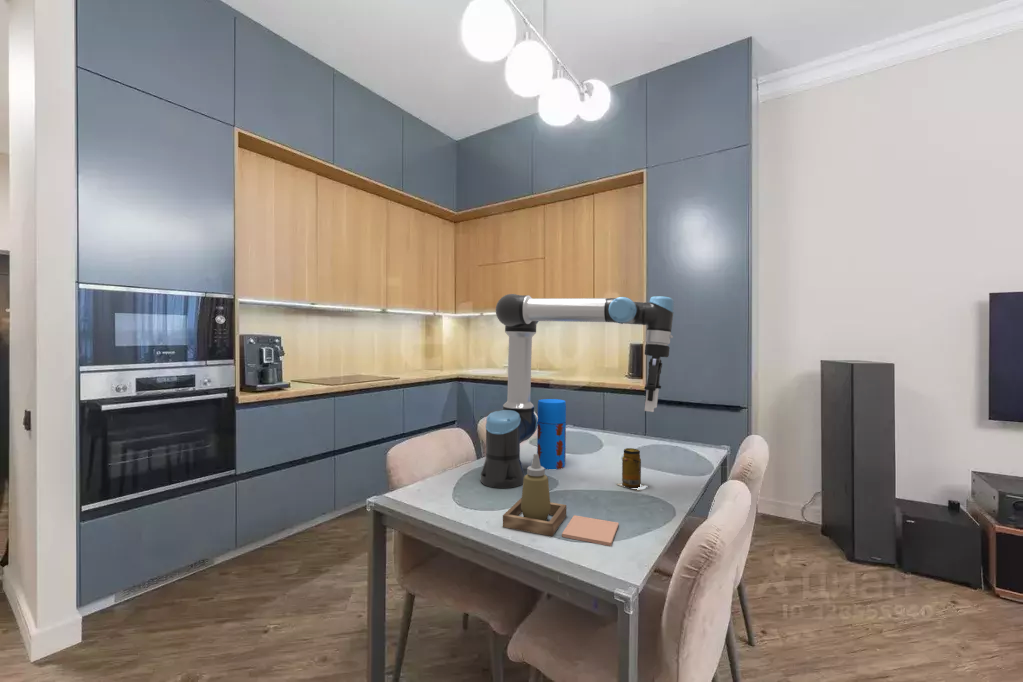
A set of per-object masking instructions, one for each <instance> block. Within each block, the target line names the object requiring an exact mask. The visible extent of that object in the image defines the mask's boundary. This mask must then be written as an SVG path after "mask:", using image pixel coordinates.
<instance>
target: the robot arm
mask: <svg viewBox="0 0 1023 682" xmlns="http://www.w3.org/2000/svg"><path fill="white" fill-rule="evenodd" d="M674 305H675V301H674V299H673V298H672V297H668V296H662V295H661V296H660V295H659V296H658V295H657V296H656V295H655V296H651V297H650V299H649V301H647V302H646V301H645V302H639V301H633V300H632V299H631V298H629V297H628V296H627V297H626V296H619V297H609V298H608V297H596V298H595V297H585V298H583V297H582V298H581V297H579V298H578V297H577V298H575V297H574V298H572V297H570V298H568V297H567V298H565V297H563V298H562V297H561V298H560V297H559V298H557V297H556V298H555V297H554V298H543V297H542V298H538V297H537V298H532V297H531V295H528V294H527V295H525V294H524V295H521V294H516V293H509V294H505V295H503V296H502V297H501V298H500V299H499V300H498V301H497V303H496V307H495V315H496V318H497V320H499V322H500V323H501V324H503V325H504V333H505V334H506V335H507V336H508V359H507V360H508V365H507V369H508V370H507V401H506V402H504V404H502V410H495V411H492V412H490V413H489V414H488V415H487V416H486V421H485V460H484V464H483V466H482V470H481V473H480V483H481V482H482V483H483V484H482V483H481V484H482V485H484V486H486V487H489V488H495V489H496V488H497V489H511V488H517V487H520V486H523V481H524V476H525V471H524V468H523V464H522V461H521V457H520V456H521V446H520V445H521V443H523V442H525V441H527V440H529V439H531V438H532V436H533V435H534V434H535V433H536V431H537V425H538V416H537V415H536V414H535V405H534V403H532V402H531V388H532V387H531V386H532V384H531V383H532V348H533V346H532V345H533V344H532V343H533V337H534V336H535V335H536V334H537V324H538V323H539V322H564V323H565V322H570V323H571V322H573V323H574V322H577V323H579V322H580V323H582V322H584V323H616V324H620V325H623V324H624V325H640V326H647V329H646V332H645V333H646V335H645V336H646V337H645V342H646V344H645V346H644V355H645V356H650V357H651V358H650V359H649V361H648V375H647V383H646V386H644V390H646V392H645V393H646V394H645V403H644V410H643V411H644V412H651V413H654V412H655V409H657V407H658V401H659V391H660V390H661V389H662V385H660V384H661V383H660V382H661V381H660V380H661V373H662V368H663V362H662V359H661V358H669V356H670V346H669V345H670V344H671V339H673V338H674V336H673V335H672V327H673V319H674V307H675V306H674Z"/></svg>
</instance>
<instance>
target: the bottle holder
mask: <svg viewBox="0 0 1023 682" xmlns="http://www.w3.org/2000/svg"><path fill="white" fill-rule="evenodd" d="M521 499H522V497H520V498H519V499H518V500H517V501H516V502H515V503H514V504H513V505H512V506H511V507H510V508H509V509H508V510H507V511H505V513H503V515H502V527H503V528H506V529H507V528H508V529H513V530H516V531H517V530H518V531H521V532H522V531H523V532H528V533H533V534H537V535H543V536H548V537H553V536H554V534H555V533H556V532H557V530H558V528H559V527H560V526H561V524H562V523H563V522H564V520H565V519H566V517H567V504H563V503H556V502H551V501H550V505H551V509H550V512H549V515H548V516H552V517H551V518H550V520H549V521H548V520H547V521H543V520H538V519H532V518H526V517H523V516H520V515H521V514H522V510H521Z"/></svg>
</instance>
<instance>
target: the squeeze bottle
mask: <svg viewBox="0 0 1023 682" xmlns="http://www.w3.org/2000/svg"><path fill="white" fill-rule="evenodd" d="M545 470H546V469H545V468H544V467H542V466H541V465H540V460H539V456H538V454H537V453H533V457H532V461H531V465H528V467H527V469H526V473H527V474H526V475H525V476H524V481H523V484H522V492H521V498H522V499H521V498H520V499H521V510H522V513H521V514H522V517H526V518H532V519H538V520H543V521H548V517H549V516H550V515H549V512H550V509H551V505H550V502H551V497H550V485H549V478H548V476H547V475H546V474H545V473H546V471H545Z"/></svg>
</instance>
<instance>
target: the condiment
mask: <svg viewBox="0 0 1023 682" xmlns="http://www.w3.org/2000/svg"><path fill="white" fill-rule="evenodd" d="M640 453H641V450H640V449H637V448H634V447H633V448H632V447H626V448H624V449H623V456H622V458H621V460H622V461H621V463H622V464H621V465H622V466H621V472H622V473H621V481H622V482H621V483H617V484H616V485H618V486H620V487H622V488H626V489H630V490H632V491H635V492H641V491H640V490H637V489H631V488H638V487H640V484H642V474H641V473H642V459H641V454H640ZM620 484H622V485H620ZM624 486H625V487H624Z"/></svg>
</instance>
